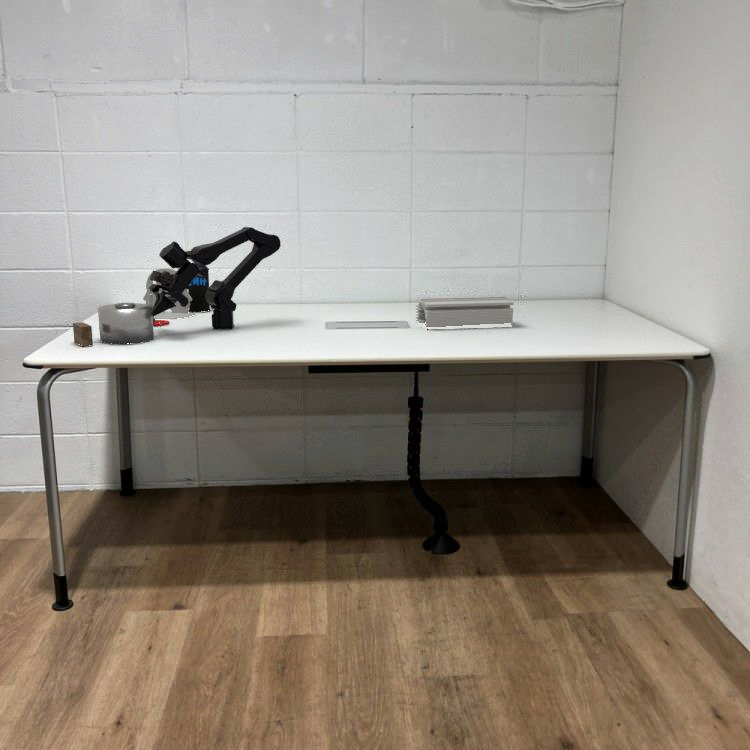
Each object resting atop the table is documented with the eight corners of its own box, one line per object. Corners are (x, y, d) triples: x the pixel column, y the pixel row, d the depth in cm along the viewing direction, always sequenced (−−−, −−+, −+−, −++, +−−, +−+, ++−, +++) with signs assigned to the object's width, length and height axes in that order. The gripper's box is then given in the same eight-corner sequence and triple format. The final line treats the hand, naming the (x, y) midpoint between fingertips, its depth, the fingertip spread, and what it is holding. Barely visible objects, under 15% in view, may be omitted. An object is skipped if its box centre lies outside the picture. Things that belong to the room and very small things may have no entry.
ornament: (196, 314, 294) (195, 269, 289) (183, 321, 281) (181, 273, 277) (140, 312, 297) (137, 267, 293) (124, 318, 284) (121, 271, 280)
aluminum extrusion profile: (415, 324, 281) (415, 295, 279) (497, 321, 288) (498, 293, 285) (426, 331, 268) (427, 301, 265) (512, 328, 274) (513, 299, 272)
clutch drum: (158, 334, 256) (156, 300, 254) (147, 344, 241) (145, 308, 238) (108, 334, 256) (105, 300, 253) (93, 344, 240) (90, 308, 238)
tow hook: (150, 322, 279) (138, 326, 270) (149, 285, 276) (137, 288, 267) (173, 323, 278) (162, 327, 269) (172, 286, 275) (161, 288, 266)
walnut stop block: (84, 341, 244) (82, 322, 243) (93, 345, 238) (91, 326, 237) (74, 342, 243) (72, 323, 241) (82, 347, 236) (81, 327, 235)
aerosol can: (193, 308, 306) (190, 256, 301) (213, 309, 305) (211, 256, 300) (185, 312, 298) (182, 258, 293) (206, 313, 297) (204, 259, 292)
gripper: (153, 258, 258) (122, 295, 254) (177, 263, 244) (144, 302, 240) (177, 281, 265) (147, 317, 261) (202, 287, 250) (170, 326, 246)
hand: (151, 315), depth 252 cm, fingers closed
